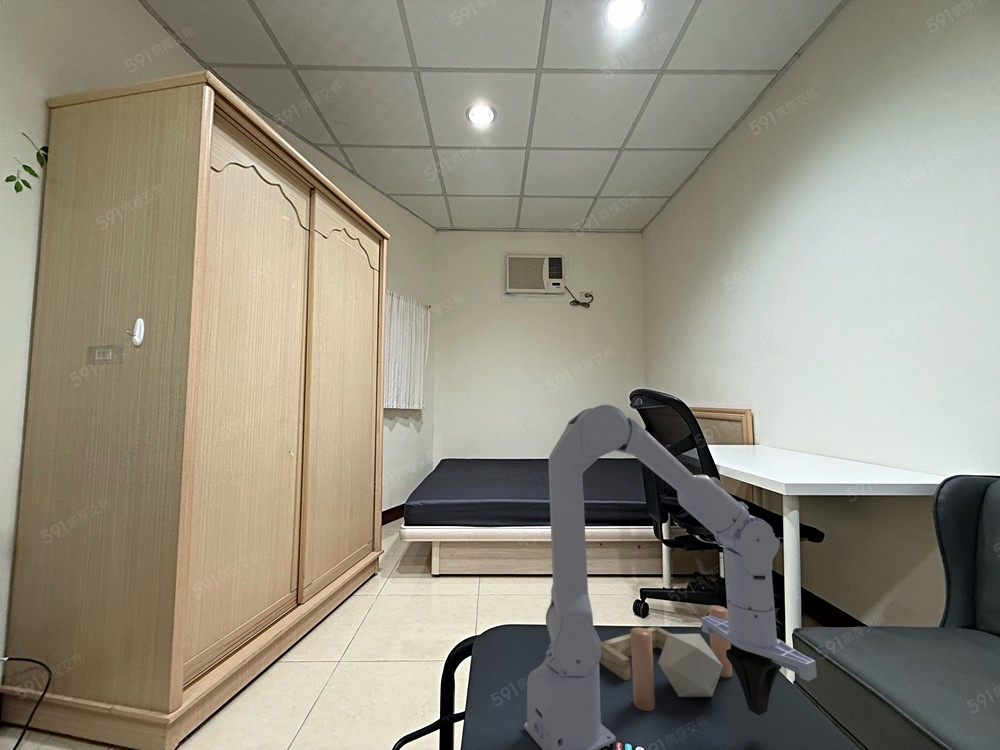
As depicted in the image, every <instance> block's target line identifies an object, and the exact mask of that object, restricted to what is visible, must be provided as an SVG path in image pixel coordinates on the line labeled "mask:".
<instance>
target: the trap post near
mask: <svg viewBox="0 0 1000 750" xmlns="http://www.w3.org/2000/svg"><path fill="white" fill-rule="evenodd" d="M630 633H631V647H632V655H631V664H632V665H631V669H632V670H631V672H632V673H631V674H632V693H633V705H634V706H635V707H636V708H637V709H639V710H640V711H645V712H651V711H652V712H653V711H654V710H655V709H656V698H655V678H654V677H655V675H654V657H653V656H654V654H653V651H654V650H653V649H652V633H651V631H649V630H648V629H647V628H643V627H639V626H638V627H633V628H631V629H630Z"/></svg>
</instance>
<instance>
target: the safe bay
mask: <svg viewBox="0 0 1000 750" xmlns="http://www.w3.org/2000/svg"><path fill="white" fill-rule="evenodd" d="M646 629H648V630H649V631H651V633H652V650H653V649H655V648H659V649H661V650H662V651H663V648H664V645H665V642H666V639H667V637H668V634H672V633H671V632H669V631H667V630H665V629H663V628H661V627H659V626H657V625H654V626H651V627H648V628H646ZM600 642H601V646H602V654H601V659H600V661H599V664H601V665H603V666H604V667H605V668H607V669H608V670H609V671H611V672H612V673H614V674H615V675H617V677H619V678H621V679H622V680H623V681H627V680H631V660H630V658H629V657H632V647H631V632H630V633H628V634H625V635H621V636H618V637H615V638H611V639H608V640H604V641H600Z"/></svg>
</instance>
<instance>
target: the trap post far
mask: <svg viewBox="0 0 1000 750" xmlns="http://www.w3.org/2000/svg"><path fill="white" fill-rule="evenodd" d="M707 609H708V616H709V615H710V616H713V617H715V618H718V619H721V620H725V621H728V612H727V608H726V607H724V606H721V605H715V604H714V605H713V604H711V605H709V606H708V607H707ZM709 640H710V649H711V650H712V652H713V653H714V654H715V656H716V657H717V659H718V660H719V661H720V663H721V664H722V665H723V668H722V671H721V674H720V676H719V678H720V677H721V678H725V679H726V678H728V679H729V678H731V677H732V676H733V667H732V665H731V663H730V662H729V660H728V659H727V657H726V650H728V649H731V648H730V647H731V643H730V642H729V641H727V640H725V639H723V638H721V637H718V636H716V635H714V634H712V633H710V634H709Z"/></svg>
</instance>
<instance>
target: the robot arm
mask: <svg viewBox="0 0 1000 750" xmlns="http://www.w3.org/2000/svg"><path fill="white" fill-rule="evenodd" d="M614 451H616V452H620V453H624V454H628V455H632V456H634V458H637V460H639V462H641V463H642V464H644V465H645V466H646V467H647V468H649V470H651V471H653V473H654V474H656V475H657V476H659V478H661V479H662V480H663V481H665V482H666V483H667V485H670V486H671V487H672V488H673V489H674V490H676V493H677V501H678V505H680V506H681V507H682V508H683V509H684V510H685V511H687V512H688V513H689V514H690V515H691V516H692V517H693V518H695V519H696V520H697V521H698V523H700V524H701V525H702V526H703V527H705V528H706V530H708V531H710V532H711V534H713V535H714V538H715V541H716V542H717V543H718V544H720V545H722V546H723V561H724V564H723V565H724V577H725V578H724V580H725V592H726V593H725V594H726V607H727V608H726V609H727V612H728V621H725V620H721V619H718V618H715V617H713V616H710V615H709V614H708V615H706V616H704V617H703V616H702V617H700V619H701V632H703V633H704V634H708V635H710V633H712V634H714V635H716V636H718V637H721V638H723V639H725V640H727V641H729V642H730V648H731V649H728V650H726V657H727V659H728V660H729V662H730V663H731V665H732V669H733V670H734V672H735V674H736V676H737V678H738V681H739V683H740V687H741V689H742V692H743V695H744V699H745V701H746V705H747V707H748V711H751V712H752V713H753V714H756V715H757V716H760V715H763V714H765V713H767V711H768V707H769V700H770V695H771V691H772V687H773V685H774V683H775V680H776V678H777V676H778V673H779V672H780V671H781V669H782V667H783V668H785V669H787V670H789V671H791V672H792V673H795V674H797V675H799V676H798V677H799V678H800V679H802V680H804V681H807V682H810V681H812V680H814V679H816V678H817V677H818V676H817V675H818V674H817V664H816V663H817V662H816V660H815V659H813V658H811V657H809V656H807V655H805V654H803V653H801V652H799V651H798V650H796V649H795V648H793V647H791V646H790V645H788V644H786V643H785V642H783V641H781V640H780V639H778V638H777V637H778V635H777V623H776V614H775V613H776V609H775V598H774V586H773V585H774V584H773V574H772V573H773V572H772V571H773V560H774V558H775V556H776V555H777V553H778V552H779V548H780V543H781V542H780V539H779V538H777V537H776V536H775V532H774V529H773V527H772V526H771V525H770V524H769V523H768V522H767V521H765V520H764V519H762V518H760V517H757V516H753V515H751V514H750V513H749V512H750V511H748V509H749V506H748V505H747V504H746V503H744V502H743V501H737V500H736V499H735V498H734V497H732V495H731V494H729V493H728V492H727V491H726V490H725V489H723V488H722V486H723V485H724V483H723V482H722V481H721V480H719V478H717V477H713V476H711V477H709V476H708V475H706V474H697V475H696V474H695V475H693V473H692V472H691V471H689V470H688V469H687V467H685V466H684V465H683V464H682V463H681V462H680V461H679V460H678V459H677V458H676V457H675V456H674V455H672V454H671V452H669V451H668V450H667V449H666V448H665V447H664V446H663V445H662V444H661V443H660V442H659V441H658V440H657V439H656V438H654V436H652V435H651V434H650V433H649V432H648V431H647V430H646V429H645V428H644V427H643V426H642V425H641V424H639V422H638V421H636V420H635V419H633V418H632V417H628V416H626V414H625V413H624V412H623V411H622V410H621V409H620V408H618V407H616V406H614V405H613V404H601V405H597V406H595V407H591V408H585V409H583V410H582V411H580V412H579V413H577V414H576V415H575V416H574V417H573V418H572V419H570V420H568V423H566V426H565V429H564V431H563V432H562V434H561V435H560V437H559V439H558V441H557V442H556V444H555V446H554V447H553V449H552V451H551V453H550V454H549V456H548V482H549V483H548V485H549V486H548V488H549V513H550V515H549V516H550V537H551V543H550V545H551V566H552V568H551V569H552V586H551V589H550V598H551V599H550V603H549V606H548V608H547V610H546V613H545V624H546V628H547V631H548V633H549V638H550V644H549V646H548V647H547V648H548V649H547V651H546V652H545V659H544V661H543V662H542V663H541V664H540V665H539V666H538V667H536V668H535V669H533V670H531V671H530V672H529V674H528V677H527V681H526V683H527V684H526V711H527V713H526V715H527V716H526V722H524V725H523V726H524V729H525V731H526V732H527V733H528V734H529V735H530V736H531V738H532V739H533V740H534V741H535V743H537V745H538V746H539V747H540V748H541V750H600V749H601V748H604V747H607V746H609V745H611V744H613V743H615V742H616V741H617V739H616V736H615V735H614V734H613V733H612V732H611V731H610V730H609V729H608V728H607V727H606V726H604V724H602V720H601V719H602V718H601V685H600V684H601V683H600V680H601V679H600V662H599V661H600V659H601V654H602V646H601V642H602V641H601V640H600V637H599V635H598V633H597V631H596V630H595V629H596V628H595V625H594V617H593V615H594V614H593V610H592V606H591V605H592V604H591V600H590V595H589V585H588V584H589V582H588V566H587V563H588V562H587V543H586V541H587V540H586V524H585V523H586V522H585V520H586V518H585V503H584V501H585V500H584V485H583V484H584V483H583V478H584V477H583V474H584V472H586V471H587V469H588V468H590V467H591V466H592V465H593V464H594V463H595V462H596V461H597V460H598V459H599V458H600V457H603V456H605V455H607V454H610V453H613V452H614Z"/></svg>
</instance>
